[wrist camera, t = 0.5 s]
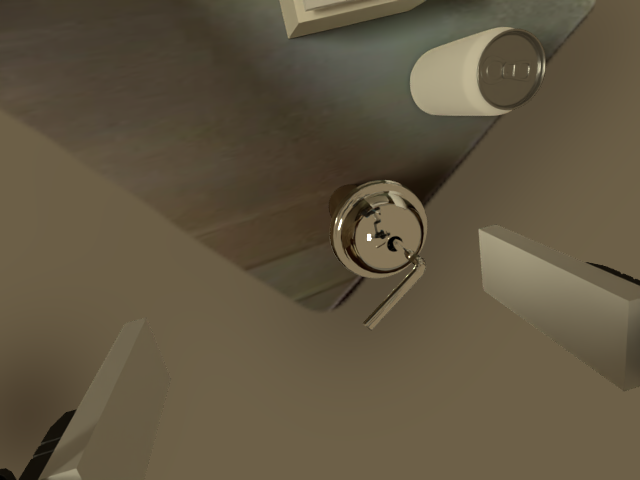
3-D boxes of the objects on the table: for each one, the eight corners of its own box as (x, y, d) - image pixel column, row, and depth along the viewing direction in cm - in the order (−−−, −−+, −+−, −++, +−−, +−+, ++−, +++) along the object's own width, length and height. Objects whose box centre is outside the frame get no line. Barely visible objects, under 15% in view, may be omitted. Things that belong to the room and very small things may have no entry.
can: (410, 46, 40) (477, 20, 28) (470, 48, 41) (558, 23, 29) (406, 115, 41) (467, 116, 30) (463, 115, 43) (544, 115, 31)
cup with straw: (393, 230, 45) (502, 314, 26) (316, 253, 44) (372, 357, 25) (378, 156, 42) (489, 190, 23) (296, 179, 41) (342, 233, 23)
